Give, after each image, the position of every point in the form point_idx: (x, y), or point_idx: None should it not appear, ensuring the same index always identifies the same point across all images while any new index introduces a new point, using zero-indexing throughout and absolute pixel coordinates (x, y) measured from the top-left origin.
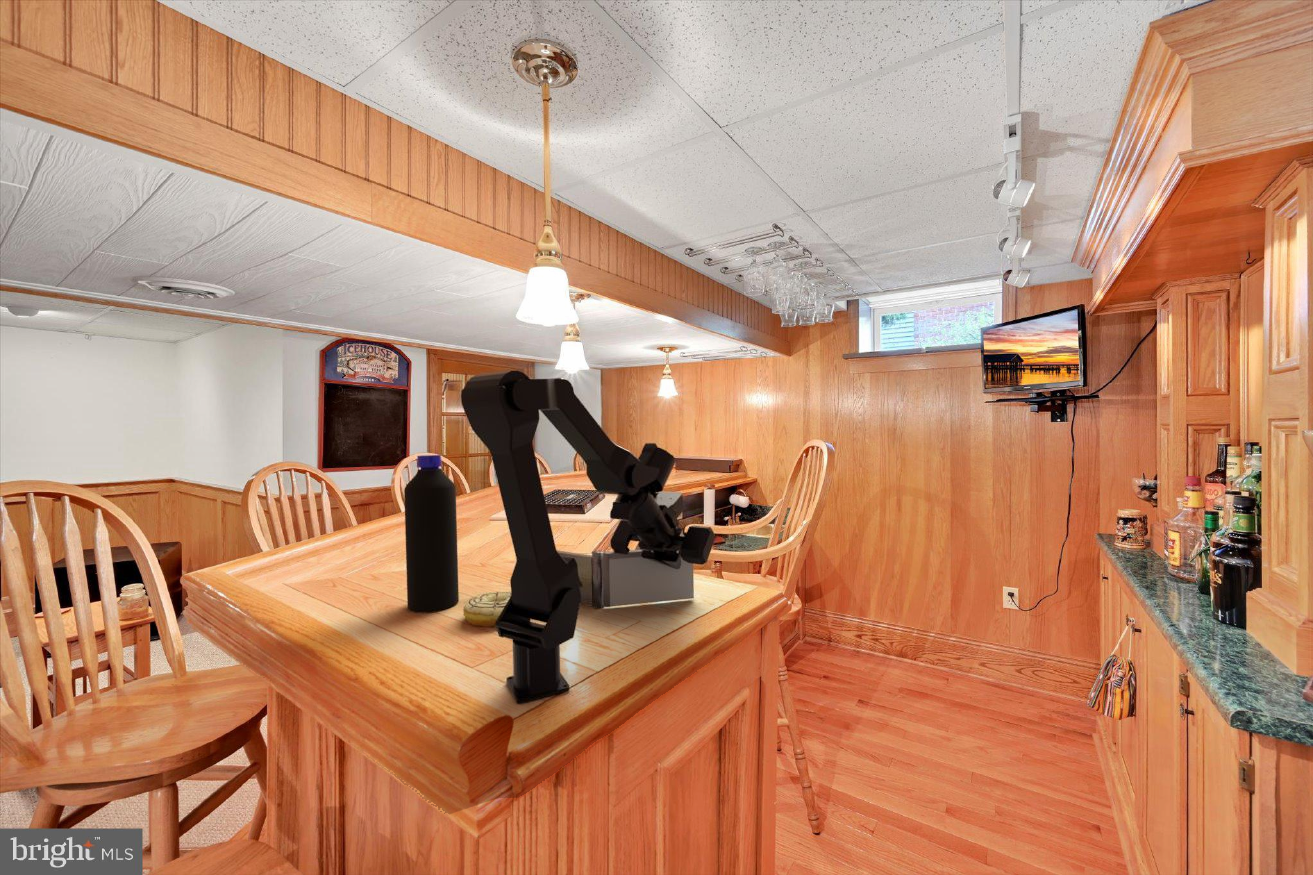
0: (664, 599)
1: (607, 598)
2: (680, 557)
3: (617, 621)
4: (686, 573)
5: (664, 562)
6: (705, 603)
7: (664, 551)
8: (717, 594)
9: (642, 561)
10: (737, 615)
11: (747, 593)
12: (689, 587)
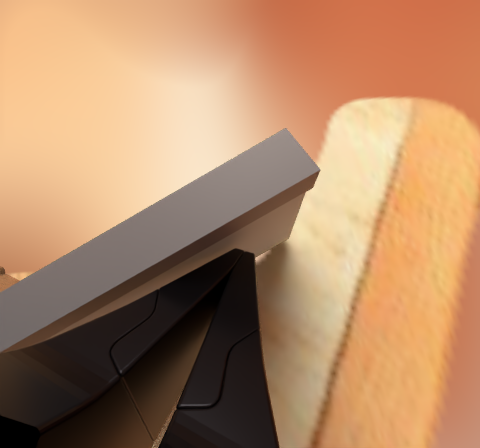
0: None
1: None
2: (257, 294)
3: None
4: (272, 233)
5: (178, 393)
6: (321, 250)
7: (130, 430)
8: (331, 180)
9: (71, 327)
10: (443, 330)
11: (405, 154)
12: (280, 238)
